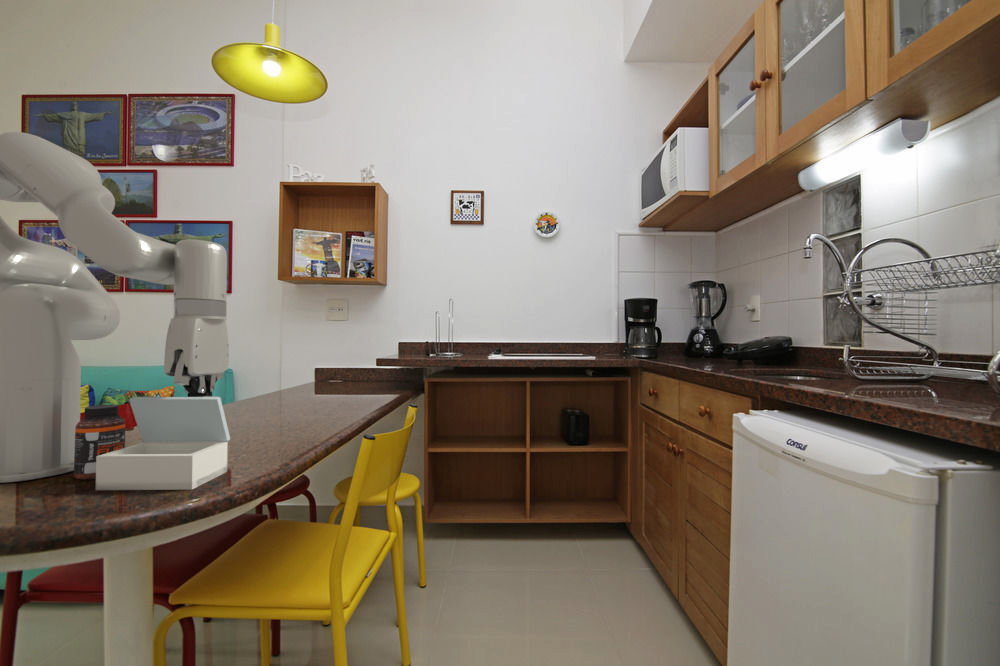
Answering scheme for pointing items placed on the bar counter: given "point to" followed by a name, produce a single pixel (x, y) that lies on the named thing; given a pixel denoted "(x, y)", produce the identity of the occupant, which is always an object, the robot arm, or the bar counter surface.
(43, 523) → the bar counter surface
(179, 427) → the cover
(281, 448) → the bar counter surface
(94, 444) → the supplement bottle
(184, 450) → the white hinged box
